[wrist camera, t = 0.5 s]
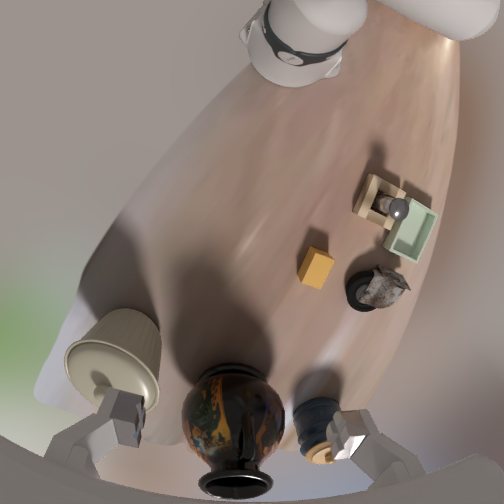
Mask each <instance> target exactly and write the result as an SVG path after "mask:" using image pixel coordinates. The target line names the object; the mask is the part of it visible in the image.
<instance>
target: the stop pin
mask: <svg viewBox="0 0 504 504" xmlns="http://www.w3.org/2000/svg"><path fill="white" fill-rule="evenodd" d="M371 206H372V207H373V208H375V209H377V210H380V211H382V212H384V213H387V214H389V215H390V216H391V217H392V218H393V219H395V220H397V221H402V220H404V219H405V218H406V217H407V216H408V213H409V204H408V202H407V201H406V200H405V199H402V198H395V199H394V198H391V197H388V196H385V195H382V194H378V193H376V196H375V198H374V201H373V203H372V205H371Z"/></svg>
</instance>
